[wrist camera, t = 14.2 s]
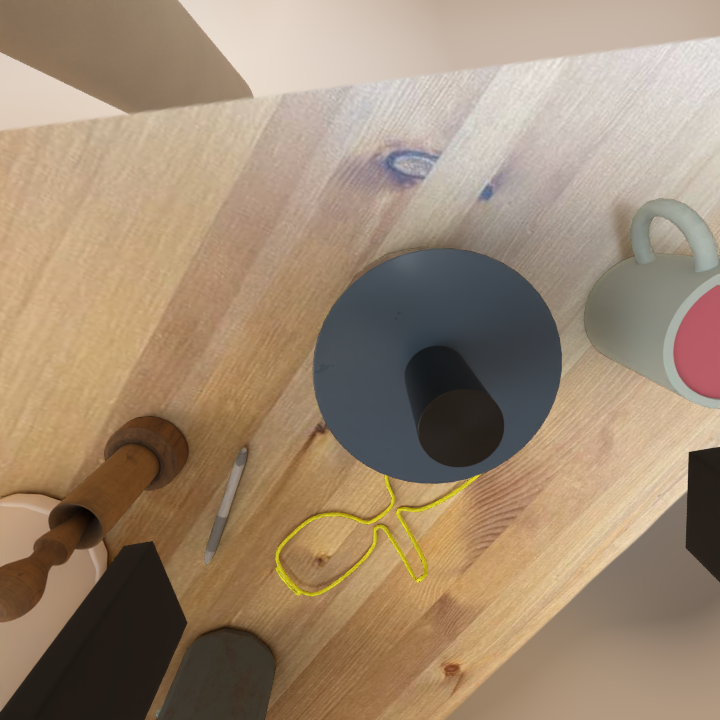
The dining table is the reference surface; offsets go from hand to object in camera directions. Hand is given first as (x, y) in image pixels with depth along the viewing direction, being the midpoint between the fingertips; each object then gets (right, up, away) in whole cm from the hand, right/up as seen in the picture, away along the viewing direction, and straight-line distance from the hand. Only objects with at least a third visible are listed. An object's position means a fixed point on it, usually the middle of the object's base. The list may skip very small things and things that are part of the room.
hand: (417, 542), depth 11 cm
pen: (-14, -9, +31) cm, 36 cm away
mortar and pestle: (-21, -4, +30) cm, 36 cm away
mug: (+21, +11, +24) cm, 34 cm away
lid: (+3, +4, +17) cm, 18 cm away
